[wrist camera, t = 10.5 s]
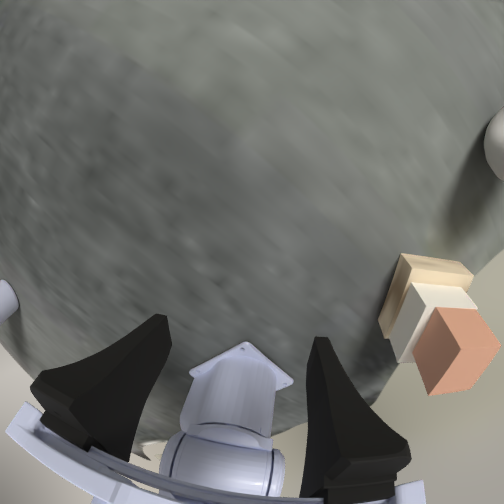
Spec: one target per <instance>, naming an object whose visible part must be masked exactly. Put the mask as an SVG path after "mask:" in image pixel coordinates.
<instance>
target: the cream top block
mask: <svg viewBox="0 0 504 504" xmlns="http://www.w3.org/2000/svg"><path fill="white" fill-rule="evenodd" d="M435 307H446V308H465V309H476V310H478V307H477V306H476V305H475V304H474V302H473V301H472V300H471V298H470V297H469V296H468V295H467V293H466V292H465V291H464V290H463V289H462V287H455V286H444V285H434V284H424V283H414V282H411V284H410V287H409V290H408V292H407V295H406V297H405V300H404V302H403V305H402V307H401V310H400V312H399V315H398V317H397V319H396V322H395V324H394V326H393V328H392V331H391V333H390V335H389V339H390V342H391V345H392V348H393V351H394V354H395V357H396V360H397V363H409V362H410V363H411V362H412V363H413V362H416V361H415V359H414V356H413V354H412V352H413V350H414V348H415V347H416V345H417V343H418V341H419V339H420V337H421V336H422V334H423V332H424V330H425V328H426V326H427V324H428V322H429V320H430V318H431V316H432V314H433V312H434V309H435Z"/></svg>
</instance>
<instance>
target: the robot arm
mask: <svg viewBox="0 0 504 504" xmlns="http://www.w3.org/2000/svg"><path fill="white" fill-rule="evenodd" d="M171 346H172V342H171V337H170V331H169V326H168V320H167V316H165V315H160V314H155V315H153V316H152V317H151V318H149V319H148V320H147V321H145V322H144V323H143V324H141V325H140V326H139V327H137V328H136V329H134V330H133V331H132V332H130V333H129V334H128V335H126V336H125V337H123V338H122V339H120V340H119V341H117V342H115V343H114V344H112V345H111V346H109V347H107V348H106V349H104V350H102V351H100V352H98V353H96V354H94V355H92V356H90V357H87V358H85V359H83V360H80V361H78V362H75V363H72V364H69V365H66V366H62V367H59V368H54V369H49V370H44V371H42V372H41V373H40V374H39V375H38V377H37V378H36V379H35V381H34V382H33V383H32V385H31V386H30V390H31V392H32V394H33V395H34V397H35V398H36V399H37V400H38V402H39V403H40V404H41V406H42V407H43V408H44V409H45V410H46V411H45V412H44V414H42V413H41V412H40V411H39V410H38V409H36V408H35V407H34V406H32V405H31V404H29V403H28V402H26V401H25V403H24V404H23V405H22V407H21V408H20V410H19V411H18V413H17V414H16V416H15V417H14V419H13V420H12V422H11V423H10V425H9V426H8V428H7V429H6V433H7V434H8V435H9V436H10V437H11V438H12V439H13V440H14V441H15V442H17V443H18V444H19V445H20V446H21V447H23V448H24V449H25V450H26V451H27V452H28V453H30V454H31V455H32V456H34V457H35V458H36V459H37V460H39V461H40V462H41V463H43V464H44V465H45V466H47V467H48V468H50V469H51V470H52V471H54V472H55V473H57V474H58V475H60V476H61V477H63V478H64V479H66V480H67V481H69V482H71V483H72V484H74V485H75V486H77V487H79V488H81V489H82V490H84V491H86V492H87V493H89V494H91V495H93V496H94V497H93V500H92V502H91V504H426V498H425V490H424V483H423V480H417V481H414V482H409V483H405V484H401V485H398V486H394V481H396V480H397V474H396V473H397V472H399V471H400V470H401V469H403V468H404V467H406V466H407V465H408V464H409V463H410V461H411V453H410V449H409V445H408V442H407V440H406V439H404V438H403V437H402V436H400V435H399V434H398V433H396V432H395V431H394V430H392V429H391V428H390V427H389V426H388V425H387V424H386V423H385V422H383V421H382V419H381V418H380V417H379V416H378V415H377V414H376V413H375V412H374V411H373V410H372V409H371V408H370V407H369V405H368V404H367V403H366V402H365V401H364V399H363V398H362V397H361V395H360V394H359V393H358V391H357V390H356V388H355V387H354V385H353V384H352V382H351V381H350V379H349V377H348V376H347V374H346V372H345V371H344V369H343V367H342V365H341V363H340V361H339V359H338V357H337V355H336V353H335V351H334V349H333V347H332V345H331V342H330V340H329V338H328V337H315V338H314V342H313V346H312V349H311V353H310V356H309V360H308V363H307V374H306V392H307V410H308V436H307V447H306V457H305V465H304V472H303V479H302V485H301V491H300V496H299V498H287V497H280V494H281V490H282V486H283V481H284V474H285V458H284V456H283V455H282V453H281V452H280V450H278V449H272V445H273V439H270V435H271V427H272V419H273V410H274V401H275V392H276V391H277V390H280V389H282V388H284V387H287V386H289V385H291V384H293V379H292V378H291V377H289V376H288V375H287V374H286V373H285V372H283V371H282V370H281V369H280V368H279V367H277V366H276V365H275V364H274V363H273V362H271V361H270V360H269V359H268V358H267V357H266V356H264V355H263V354H262V353H261V352H260V351H259V350H258V349H256V348H255V347H254V346H253V345H252V344H251V343H249V342H242V343H241V344H239V345H237V346H235V347H233V348H231V349H230V350H228V351H226V352H224V353H222V354H220V355H218V356H216V357H214V358H212V359H210V360H208V361H206V362H205V363H203V364H201V365H199V366H197V367H195V368H192V369H191V370H190V371H189V374H190V375H191V376H193V377H194V380H193V383H192V385H191V388H190V390H189V393H188V396H187V398H186V401H185V403H184V406H183V409H182V411H181V414H180V426H181V430H182V431H179V432H177V433H176V434H174V435H173V436H171V438H170V439H169V440H168V442H167V444H166V446H165V449H164V451H163V454H162V458H161V462H160V468H159V474H158V473H155V472H152V471H149V470H146V469H143V468H141V467H138V466H135V465H133V464H130V463H128V462H129V458H130V453H131V449H132V444H133V440H134V437H135V433H136V429H137V426H138V423H139V420H140V417H141V414H142V411H143V408H144V405H145V403H146V400H147V398H148V395H149V393H150V391H151V389H152V388H153V386H154V384H155V382H156V380H157V378H158V376H159V374H160V372H161V370H162V368H163V367H164V365H165V363H166V360H167V358H168V355H169V352H170V349H171ZM243 348H244V349H243ZM117 473H118V474H117ZM119 474H120V475H119ZM121 475H123V476H125V477H127V478H130V479H132V480H135V481H137V482H140V483H143V484H145V485H148V486H151V487H154V488H157V489H159V494H157V493H154V492H151V491H148V490H144V489H142V488H139V487H138V486H136V485H135V484H133V483H132V481H131V480H129V479H127V478H125V477H123V476H121Z"/></svg>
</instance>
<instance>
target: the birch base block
mask: <svg viewBox="0 0 504 504" xmlns="http://www.w3.org/2000/svg"><path fill="white" fill-rule="evenodd" d="M473 277H474V276H473V275H472V274H471V273H470V272H469V271H468V270H467V269H466V268H465V267H464V266H463V265H462V264H461V263H460V262H456V261H450V260H444V259H437V258H431V257H424V256H417V255H410V254H404V253H401V254H400V257H399V261H398V264H397V267H396V270H395V273H394V277H393V280H392V283H391V285H390V288H389V291H388V294H387V297H386V300H385V302H384V305H383V308H382V310H381V313H380V316H379V318H378V322H379V325H380V327H381V330H382V333H383V336H384V339H389V335H390V333H391V331H392V328H393V326H394V324H395V322H396V319H397V317H398V315H399V312H400V310H401V307H402V305H403V302H404V300H405V297H406V295H407V292H408V290H409V287H410V284H411V282H414V283H424V284H434V285H444V286H455V287H462V289H463V290H464V291H465V292H466V293H467V291H468V289H469V287H470V284H471V282H472V279H473Z"/></svg>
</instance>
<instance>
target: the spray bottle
mask: <svg viewBox="0 0 504 504" xmlns="http://www.w3.org/2000/svg"><path fill="white" fill-rule="evenodd" d="M18 307H19V303H18V299H17V296H16V294H15V292H14V290H13V289H12V287H11V286H10V284H9V283H8V282H7V281H5V280H0V325H1V324H2V323H3V322H4V321H5V320H6V319H7V318H9V317H10V316H11V315H12V314H13V313H14V312H15V311H16V310H17V309H18Z"/></svg>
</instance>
